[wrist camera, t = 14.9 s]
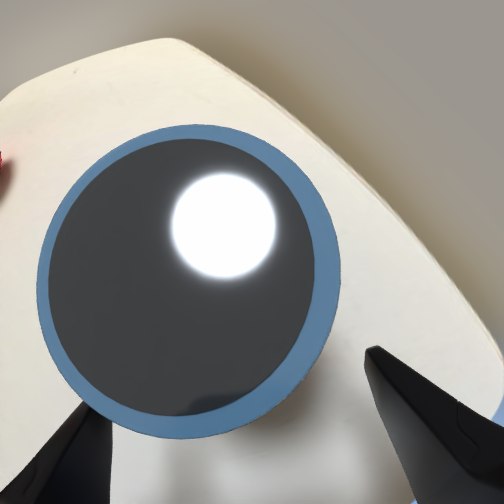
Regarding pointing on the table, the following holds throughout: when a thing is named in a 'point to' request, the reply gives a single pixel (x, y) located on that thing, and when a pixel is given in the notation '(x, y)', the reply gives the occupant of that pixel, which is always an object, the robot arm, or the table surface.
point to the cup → (188, 281)
